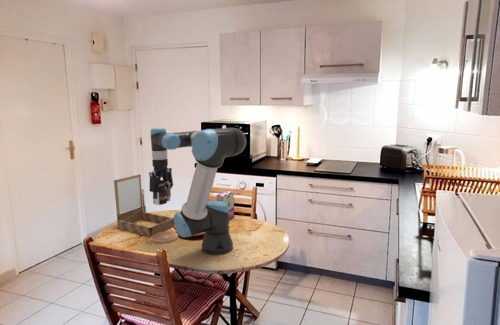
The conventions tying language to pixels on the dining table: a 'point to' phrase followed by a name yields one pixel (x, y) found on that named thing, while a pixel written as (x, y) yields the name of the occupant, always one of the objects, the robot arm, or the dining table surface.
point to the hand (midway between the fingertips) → (162, 202)
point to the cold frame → (139, 214)
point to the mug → (163, 192)
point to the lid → (128, 193)
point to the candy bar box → (227, 201)
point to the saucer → (164, 237)
